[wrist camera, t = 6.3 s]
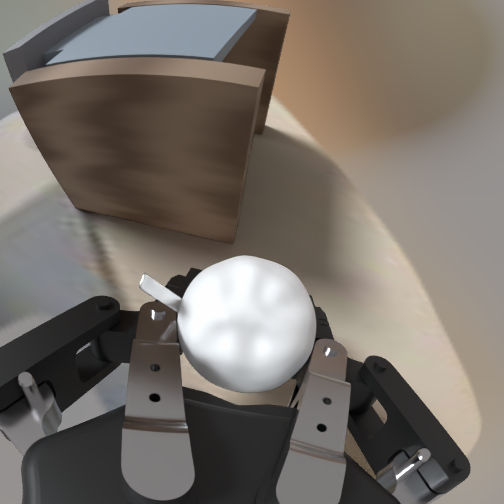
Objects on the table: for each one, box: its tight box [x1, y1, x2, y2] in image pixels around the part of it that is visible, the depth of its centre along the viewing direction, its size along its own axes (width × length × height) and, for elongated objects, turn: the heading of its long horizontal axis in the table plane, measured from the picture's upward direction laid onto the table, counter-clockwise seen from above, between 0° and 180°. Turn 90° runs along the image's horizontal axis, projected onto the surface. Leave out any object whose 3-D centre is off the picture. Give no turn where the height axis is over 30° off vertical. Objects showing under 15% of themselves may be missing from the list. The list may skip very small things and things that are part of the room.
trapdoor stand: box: [9, 0, 291, 244], centre depth 16 cm, size 13×13×12 cm
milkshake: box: [139, 255, 316, 393], centre depth 11 cm, size 4×5×10 cm
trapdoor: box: [3, 0, 257, 83], centre depth 12 cm, size 13×9×6 cm
